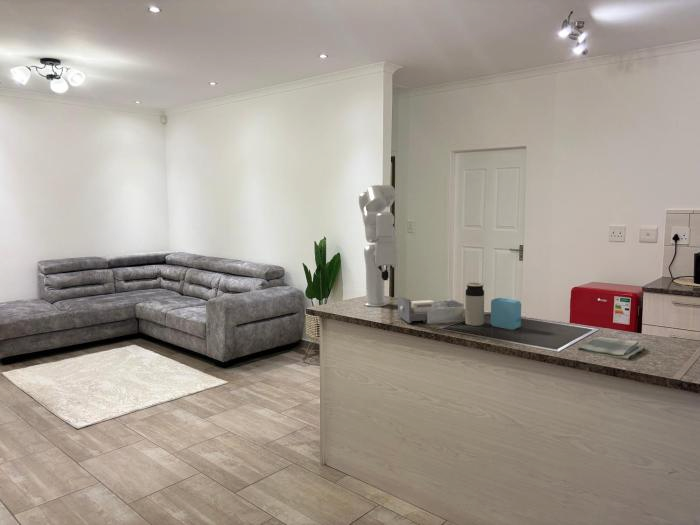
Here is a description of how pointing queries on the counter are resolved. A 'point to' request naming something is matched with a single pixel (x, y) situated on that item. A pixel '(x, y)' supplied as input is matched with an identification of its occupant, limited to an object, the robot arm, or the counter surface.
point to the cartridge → (422, 306)
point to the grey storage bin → (445, 312)
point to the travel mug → (474, 304)
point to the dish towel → (612, 347)
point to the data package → (506, 313)
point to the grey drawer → (408, 310)
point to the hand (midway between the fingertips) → (385, 279)
